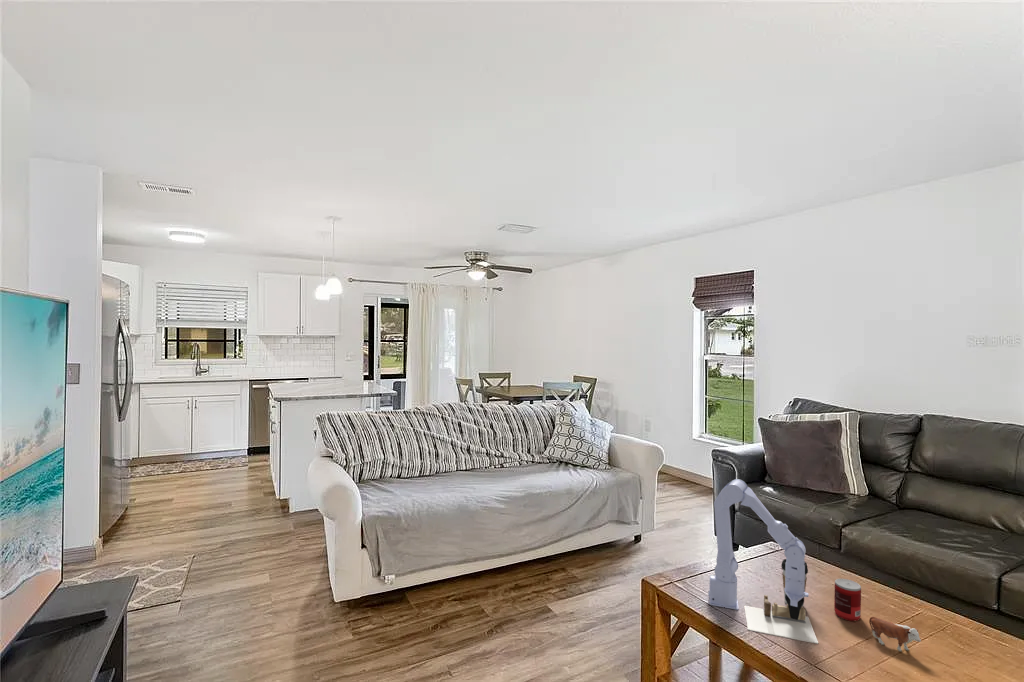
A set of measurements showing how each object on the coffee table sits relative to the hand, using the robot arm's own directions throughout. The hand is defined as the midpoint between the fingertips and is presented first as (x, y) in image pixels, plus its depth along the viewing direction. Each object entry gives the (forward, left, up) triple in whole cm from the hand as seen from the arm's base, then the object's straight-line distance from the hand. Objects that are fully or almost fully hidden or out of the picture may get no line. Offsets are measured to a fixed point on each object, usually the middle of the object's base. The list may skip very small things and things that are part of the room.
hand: (794, 618), depth 171 cm
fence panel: (-2, +2, -1) cm, 2 cm away
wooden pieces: (-8, +3, -1) cm, 9 cm away
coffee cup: (+2, +14, -2) cm, 14 cm away
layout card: (-5, -3, -1) cm, 6 cm away
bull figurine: (+27, -4, -2) cm, 27 cm away
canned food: (+18, +12, -2) cm, 22 cm away
